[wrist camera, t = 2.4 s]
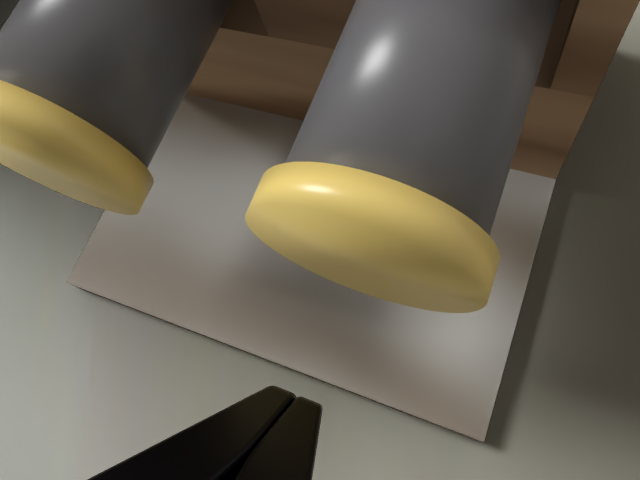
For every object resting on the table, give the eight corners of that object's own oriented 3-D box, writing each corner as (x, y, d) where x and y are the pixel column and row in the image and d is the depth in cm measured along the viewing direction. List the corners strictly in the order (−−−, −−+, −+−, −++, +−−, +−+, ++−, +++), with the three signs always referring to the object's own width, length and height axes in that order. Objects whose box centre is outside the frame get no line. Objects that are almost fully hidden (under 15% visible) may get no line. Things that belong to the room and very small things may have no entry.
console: (482, 442, 16) (688, 422, 3) (76, 286, 20) (-513, 20, 8) (591, 43, 20) (876, -671, 7) (232, -13, 24) (15, -517, 11)
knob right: (476, 329, 12) (504, 261, 7) (280, 266, 13) (207, 176, 9) (560, 46, 14) (619, -139, 10) (383, 17, 15) (365, -155, 11)
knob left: (172, 231, 14) (55, 135, 10) (33, 186, 16) (-124, 84, 11) (283, 1, 16) (228, -164, 12) (151, -21, 18) (60, -175, 13)
